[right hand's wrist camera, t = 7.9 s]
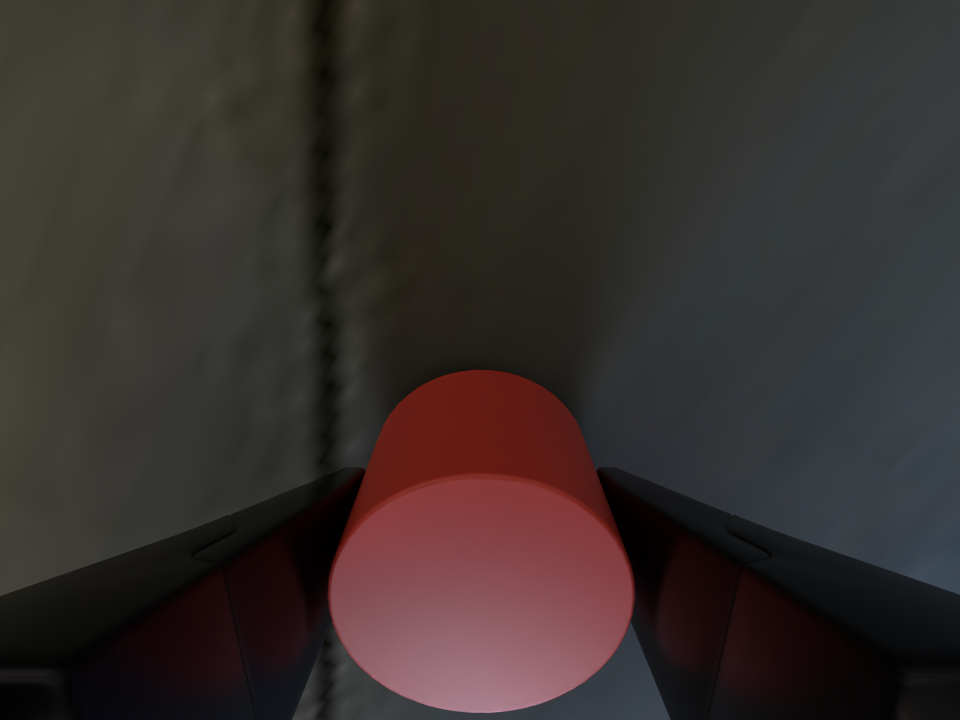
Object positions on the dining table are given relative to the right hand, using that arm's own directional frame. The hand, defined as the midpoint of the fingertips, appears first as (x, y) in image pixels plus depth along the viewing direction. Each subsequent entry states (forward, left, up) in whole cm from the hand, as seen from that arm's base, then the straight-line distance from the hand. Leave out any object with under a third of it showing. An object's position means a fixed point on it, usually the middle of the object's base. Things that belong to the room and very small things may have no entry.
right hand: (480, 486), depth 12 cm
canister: (0, 0, -1) cm, 1 cm away
